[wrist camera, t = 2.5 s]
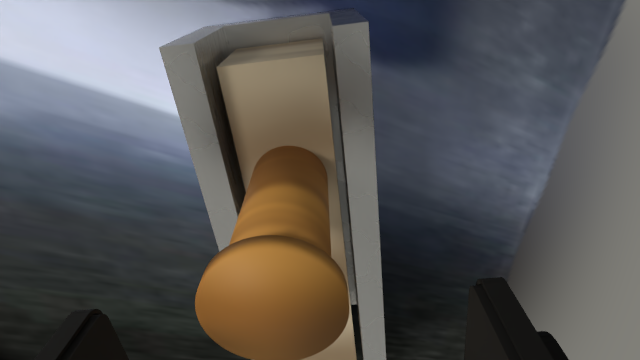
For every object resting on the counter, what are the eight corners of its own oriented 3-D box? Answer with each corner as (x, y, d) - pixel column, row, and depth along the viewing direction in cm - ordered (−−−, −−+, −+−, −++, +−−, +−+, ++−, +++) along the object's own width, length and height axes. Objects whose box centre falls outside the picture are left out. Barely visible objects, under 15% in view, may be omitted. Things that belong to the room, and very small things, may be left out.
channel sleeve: (204, 26, 19) (159, 47, 13) (353, 8, 18) (368, 21, 13) (269, 301, 27) (258, 380, 22) (372, 291, 27) (386, 370, 21)
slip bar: (236, 49, 18) (133, 142, 8) (322, 38, 18) (329, 120, 8) (297, 344, 27) (286, 559, 17) (354, 339, 27) (376, 554, 17)
